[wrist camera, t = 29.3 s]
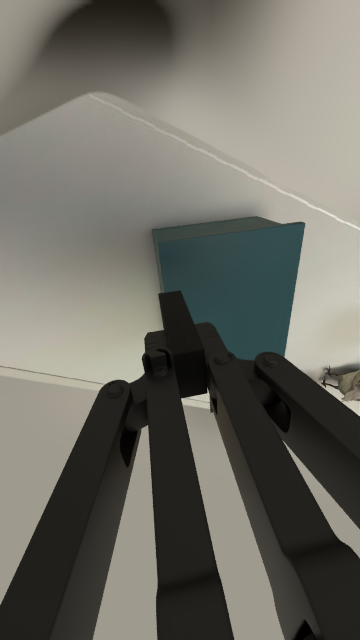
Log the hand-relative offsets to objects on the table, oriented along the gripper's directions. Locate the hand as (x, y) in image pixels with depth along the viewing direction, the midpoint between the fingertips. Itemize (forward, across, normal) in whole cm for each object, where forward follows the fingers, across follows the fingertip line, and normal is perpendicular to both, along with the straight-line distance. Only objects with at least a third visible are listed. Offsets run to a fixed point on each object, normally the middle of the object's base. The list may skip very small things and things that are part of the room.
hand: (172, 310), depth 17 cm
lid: (+10, +8, -7) cm, 14 cm away
